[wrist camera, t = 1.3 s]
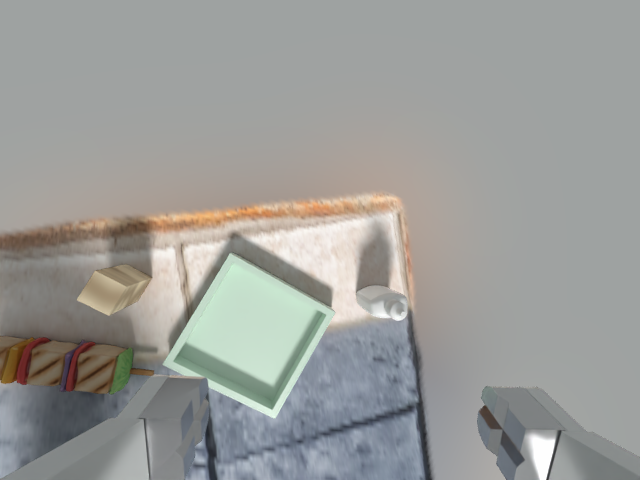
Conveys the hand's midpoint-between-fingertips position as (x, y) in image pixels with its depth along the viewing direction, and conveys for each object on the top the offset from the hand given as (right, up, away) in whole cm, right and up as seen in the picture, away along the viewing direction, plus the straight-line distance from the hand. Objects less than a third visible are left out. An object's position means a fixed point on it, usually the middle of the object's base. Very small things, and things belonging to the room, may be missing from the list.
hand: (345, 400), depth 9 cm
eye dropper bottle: (+8, -4, +41) cm, 42 cm away
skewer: (-35, -12, +35) cm, 51 cm away
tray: (-11, -9, +38) cm, 41 cm away
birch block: (-28, -1, +35) cm, 45 cm away
